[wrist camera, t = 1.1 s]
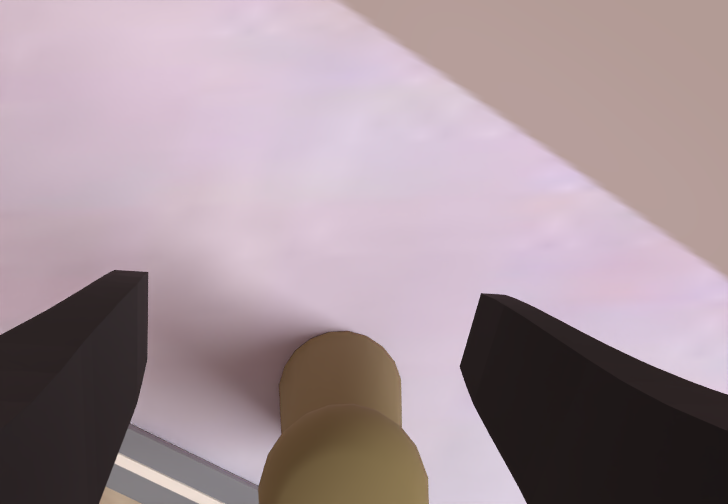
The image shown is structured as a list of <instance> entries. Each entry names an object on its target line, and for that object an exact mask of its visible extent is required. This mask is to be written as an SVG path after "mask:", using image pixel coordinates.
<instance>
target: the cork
mask: <svg viewBox="0 0 728 504" xmlns="http://www.w3.org/2000/svg"><path fill="white" fill-rule="evenodd" d="M279 396H280V416H281V436H280V437H279V439H278V440H277V442H276V443H275V445H274V446H273V448H272V449H271V451H270V452H269V454H268V456H267V459H266V463H265V466H264V469H263V473H262V476H261V480H260V483H259V487H258V498H259V504H429V497H428V477H427V474H426V471H425V468H424V466H423V463H422V460H421V457H420V455H419V452H418V450H417V447H416V445H415V444H414V443H413V441H412V440H411V439H410V438H409V436H408V435H407V434H406V433H405V431H404V430H403V429H402V410H401V378H400V376H399V373H398V370H397V367H396V364H395V362H394V360H393V359H392V358H391V357H390V355H389V354H388V353H387V352H386V350H385V349H384V348H383V347H382V346H381V345H379V344H378V343H376V342H375V341H373V340H372V339H370V338H369V337H367V336H364V335H360V334H357V333H353V332H350V331H341V332H328V333H325V334H322V335H319V336H317V337H314V338H311V339H310V340H308V341H307V342H306V343H304V344H303V345H302V346H301V347H299V348H298V349H297V350H296V351H295V352H294V353H293V355H292V356H291V358H290V359H289V361H288V362H287V364H286V365H285V367H284V370H283V373H282V377H281V380H280V384H279Z"/></svg>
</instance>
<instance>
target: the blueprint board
mask: <svg viewBox="0 0 728 504" xmlns="http://www.w3.org/2000/svg"><path fill="white" fill-rule="evenodd" d="M106 487H108V488H110V489H112V490H114V491H116V492H118V493H120V494H122V495H125V496H127V497H129V498H131V499H133V500H135V501H137V502H139V503H142V504H259V498H258V487H259V486H257V485H255V484H253V483H251V482H249V481H247V480H245V479H243V478H240V477H238V476H236V475H234V474H232V473H230V472H228V471H226V470H224V469H222V468H220V467H218V466H216V465H214V464H212V463H209V462H207V461H205V460H203V459H201V458H199V457H197V456H195V455H193V454H191V453H189V452H187V451H185V450H183V449H181V448H179V447H176V446H174V445H172V444H170V443H168V442H166V441H164V440H162V439H160V438H158V437H156V436H154V435H152V434H150V433H148V432H145V431H143V430H141V429H139V428H137V427H135V426H133V425H131V424H129V426H128V429H127V432H126V434H125V437H124V440H123V442H122V445H121V447H120V450H119V453H118V455H117V458H116V460H115V463H114V466H113V468H112V471H111V474H110V476H109V479H108V481H107V484H106Z"/></svg>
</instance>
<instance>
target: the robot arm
mask: <svg viewBox="0 0 728 504" xmlns="http://www.w3.org/2000/svg"><path fill="white" fill-rule="evenodd" d="M147 333H148V272H138V271H122V270H114V271H112V272H110V273H108V274H106V275H104V276H103V277H101V278H99V279H98V280H96V281H94V282H93V283H91V284H90V285H88V286H86V287H85V288H83V289H82V290H80V291H78V292H77V293H75V294H73V295H72V296H70V297H68V298H67V299H65V300H63V301H62V302H60V303H58V304H57V305H55V306H53V307H52V308H50V309H48V310H46V311H45V312H43V313H41V314H39V315H37V316H35V317H33V318H32V319H30V320H28V321H26V322H24V323H22V324H20V325H18V326H17V327H15V328H13V329H11V330H9V331H7V332H5V333H3V334H2V335H0V504H99V502H100V500H101V497H102V494H103V492H104V489H105V487H106V484H107V481H108V479H109V476H110V474H111V471H112V468H113V466H114V463H115V460H116V458H117V455H118V453H119V450H120V447H121V445H122V442H123V440H124V437H125V434H126V432H127V429H128V426H129V424H130V421H131V418H132V416H133V413H134V410H135V407H136V405H137V402H138V397H139V393H140V389H141V385H142V380H143V376H144V372H145V367H146V363H147ZM460 369H461V372H462V375H463V378H464V381H465V384H466V386H467V389H468V392H469V394H470V397H471V399H472V402H473V404H474V406H475V408H476V410H477V412H478V414H479V416H480V418H481V420H482V421H483V423H484V425H485V427H486V429H487V431H488V433H489V434H490V436H491V438H492V440H493V442H494V443H495V445H496V447H497V449H498V451H499V452H500V454H501V456H502V458H503V460H504V461H505V463H506V465H507V467H508V469H509V470H510V472H511V474H512V476H513V478H514V480H515V481H516V483H517V485H518V487H519V489H520V491H521V493H522V495H523V497H524V499H525V501H526V503H527V504H728V395H727V394H724V393H721V392H718V391H715V390H712V389H709V388H707V387H704V386H701V385H698V384H696V383H693V382H690V381H688V380H685V379H683V378H681V377H678V376H676V375H673V374H671V373H668V372H666V371H663V370H661V369H658V368H656V367H654V366H651V365H649V364H647V363H645V362H642V361H640V360H638V359H636V358H634V357H631V356H629V355H627V354H625V353H623V352H621V351H619V350H617V349H615V348H613V347H611V346H608V345H606V344H604V343H602V342H600V341H599V340H597V339H595V338H593V337H591V336H589V335H587V334H585V333H583V332H581V331H579V330H577V329H575V328H573V327H571V326H570V325H568V324H566V323H564V322H562V321H560V320H558V319H556V318H554V317H552V316H550V315H549V314H547V313H545V312H543V311H541V310H539V309H537V308H535V307H533V306H531V305H529V304H527V303H524V302H522V301H520V300H518V299H515V298H513V297H510V296H507V295H499V294H484V293H481V296H480V299H479V303H478V306H477V309H476V313H475V316H474V320H473V323H472V327H471V330H470V333H469V337H468V340H467V344H466V347H465V350H464V354H463V357H462V361H461V364H460Z"/></svg>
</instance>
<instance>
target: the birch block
mask: <svg viewBox="0 0 728 504" xmlns="http://www.w3.org/2000/svg"><path fill="white" fill-rule="evenodd" d="M99 504H142V503H139V502H137V501H135V500H133V499H131V498H129V497H127V496H125V495H122V494H120V493H118V492H116V491H114V490H112V489H110V488H108V487H105V489H104V492H103V494H102V497H101V500H100V502H99Z"/></svg>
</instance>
